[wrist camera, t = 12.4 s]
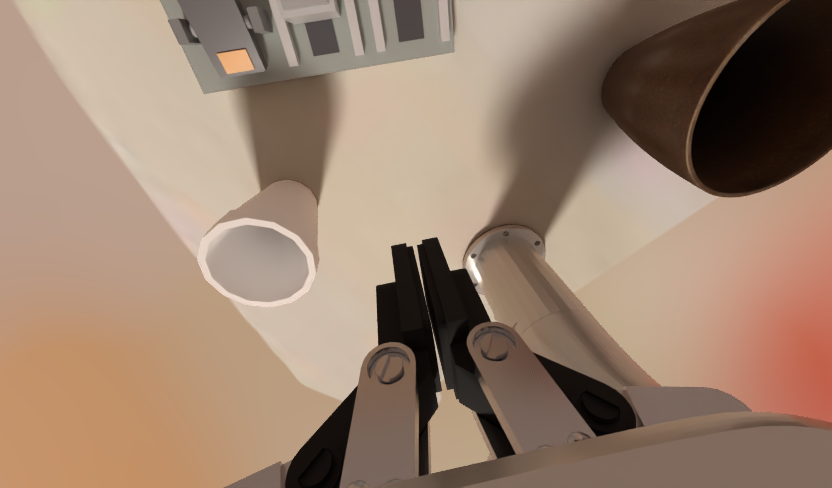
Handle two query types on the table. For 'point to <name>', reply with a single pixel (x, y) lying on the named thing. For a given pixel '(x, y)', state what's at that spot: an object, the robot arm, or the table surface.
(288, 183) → the foam cup
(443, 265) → the robot arm
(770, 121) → the plant pot
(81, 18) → the table surface
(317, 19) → the slider grey
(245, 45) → the rocker black
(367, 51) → the panel
